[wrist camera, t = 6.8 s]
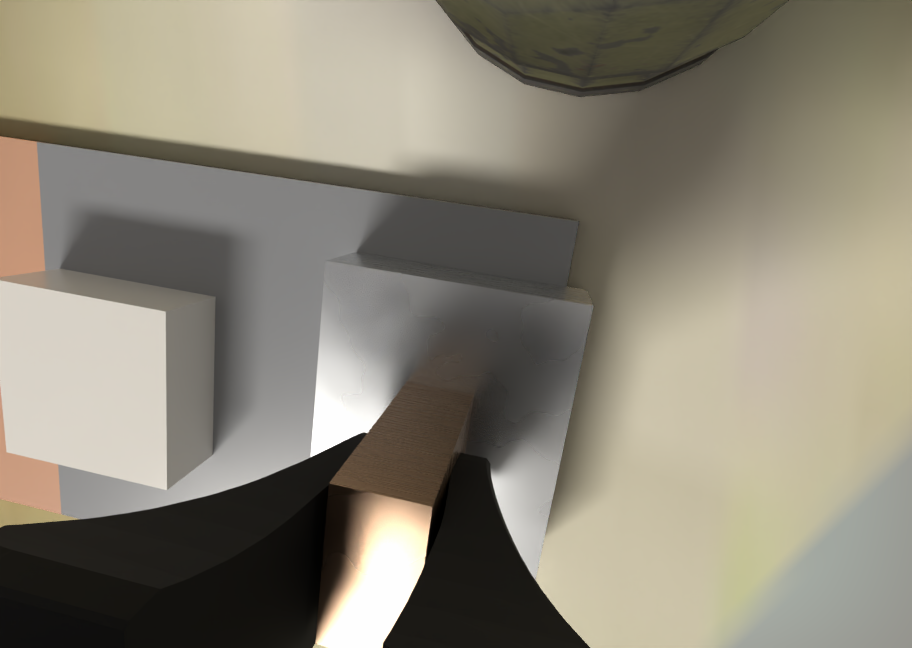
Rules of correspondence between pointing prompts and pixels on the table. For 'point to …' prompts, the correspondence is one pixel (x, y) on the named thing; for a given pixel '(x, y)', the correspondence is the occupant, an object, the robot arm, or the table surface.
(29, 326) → the block
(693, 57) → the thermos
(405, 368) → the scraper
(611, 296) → the table surface
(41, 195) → the mat
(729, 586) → the table surface
